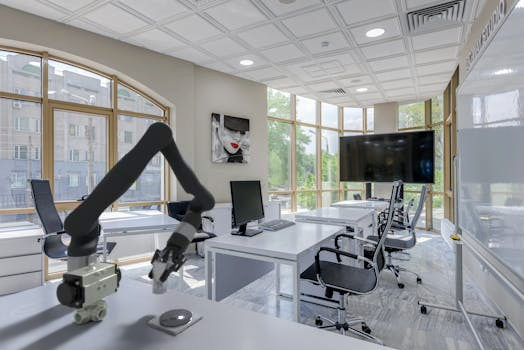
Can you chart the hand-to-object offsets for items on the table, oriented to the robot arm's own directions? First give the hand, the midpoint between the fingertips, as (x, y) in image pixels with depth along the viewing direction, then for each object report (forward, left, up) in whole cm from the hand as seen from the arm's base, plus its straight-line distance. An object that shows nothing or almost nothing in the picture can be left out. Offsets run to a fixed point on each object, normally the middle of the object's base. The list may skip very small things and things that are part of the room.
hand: (155, 279), depth 100 cm
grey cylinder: (0, +2, -5) cm, 5 cm away
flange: (+10, -1, -11) cm, 15 cm away
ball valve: (-14, -13, -11) cm, 22 cm away
